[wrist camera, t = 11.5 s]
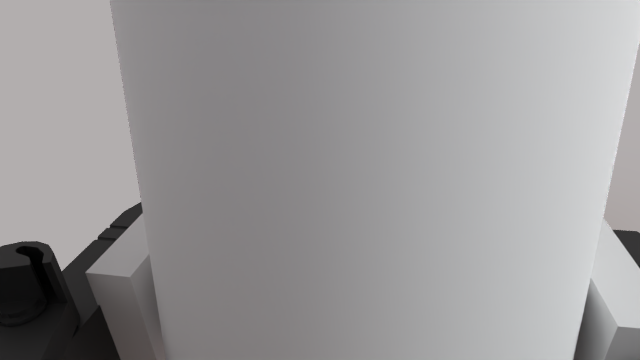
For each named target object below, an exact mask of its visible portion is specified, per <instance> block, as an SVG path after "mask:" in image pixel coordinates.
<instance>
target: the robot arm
mask: <svg viewBox="0 0 640 360" xmlns="http://www.w3.org/2000/svg"><path fill="white" fill-rule="evenodd" d="M0 360H166V357H165V351H164V344H163V338H162V332H161V325H160V319H159V312H158V306H157V300H156V293H155V287H154V280H153V274H152V268H151V261H150V255H149V248H148V242H147V236H146V229H145V223H144V216H143V210H142V204H141V202H140V203H138V204H137V205H135V206H133V207H132V208H129V209H128V210H126V211H124V212H123V213H122V214H121V215H120V216H119V217H118V218H117V219H116V220H115V221H114V222H113V223H112V224H111V225H110V228H106V229H105V230H104V231H103V232H102V233H101V234H100V235H99V236H98V240H94V241H93V242H92V243H91V244H90V245H89V246H88V247H87V248H86V249H85V250H84V251H83V252H81V253H80V254H79V255H78V256H77V257H76V258H75V259H74V260H73V261H72V262H71V263H70V264H69V265H68V266H67V267H66V268H65V269H64V270H63V271H62V272H61V269H60V267H59V265H58V262H57V260H56V258H55V255H54V253H53V251H52V249H51V248H50V246H49V245H47V244H44V243H41V242H37V241H36V242H18V243H14V244H9V245H4V246H1V247H0ZM574 360H640V233H639V232H637V231H623V230H622V231H621V230H612V229H611V228H610V226H609V225H608V223H607V222H606V221H605V219H604V218H603V220H602V225H601V230H600V234H599V239H598V244H597V249H596V254H595V258H594V263H593V268H592V273H591V278H590V283H589V287H588V292H587V297H586V302H585V307H584V311H583V316H582V321H581V326H580V331H579V336H578V340H577V345H576V350H575V355H574Z"/></svg>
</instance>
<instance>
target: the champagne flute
mask: <svg viewBox="0 0 640 360" xmlns="http://www.w3.org/2000/svg"><path fill="white" fill-rule="evenodd" d="M110 5H111V11H112V18H113V24H114V30H115V37H116V44H117V50H118V56H119V63H120V69H121V75H122V82H123V88H124V95H125V101H126V108H127V114H128V120H129V126H130V133H131V139H132V146H133V152H134V158H135V165H136V172H137V178H138V184H139V190H140V197H141V204H142V210H143V216H144V223H145V229H146V236H147V242H148V248H149V255H150V261H151V268H152V274H153V280H154V287H155V293H156V300H157V306H158V312H159V319H160V325H161V332H162V338H163V344H164V351H165V357H166V360H574V355H575V350H576V345H577V340H578V336H579V331H580V326H581V321H582V316H583V311H584V307H585V302H586V297H587V292H588V287H589V283H590V278H591V273H592V268H593V263H594V258H595V254H596V249H597V244H598V239H599V234H600V230H601V225H602V220H603V215H604V210H605V205H606V201H607V196H608V191H609V186H610V181H611V176H612V172H613V167H614V162H615V156H616V152H617V148H618V143H619V138H620V133H621V128H622V123H623V118H624V114H625V109H626V104H627V99H628V94H629V90H630V85H631V80H632V75H633V70H634V65H635V61H636V56H637V51H638V46H639V42H640V0H110Z"/></svg>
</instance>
